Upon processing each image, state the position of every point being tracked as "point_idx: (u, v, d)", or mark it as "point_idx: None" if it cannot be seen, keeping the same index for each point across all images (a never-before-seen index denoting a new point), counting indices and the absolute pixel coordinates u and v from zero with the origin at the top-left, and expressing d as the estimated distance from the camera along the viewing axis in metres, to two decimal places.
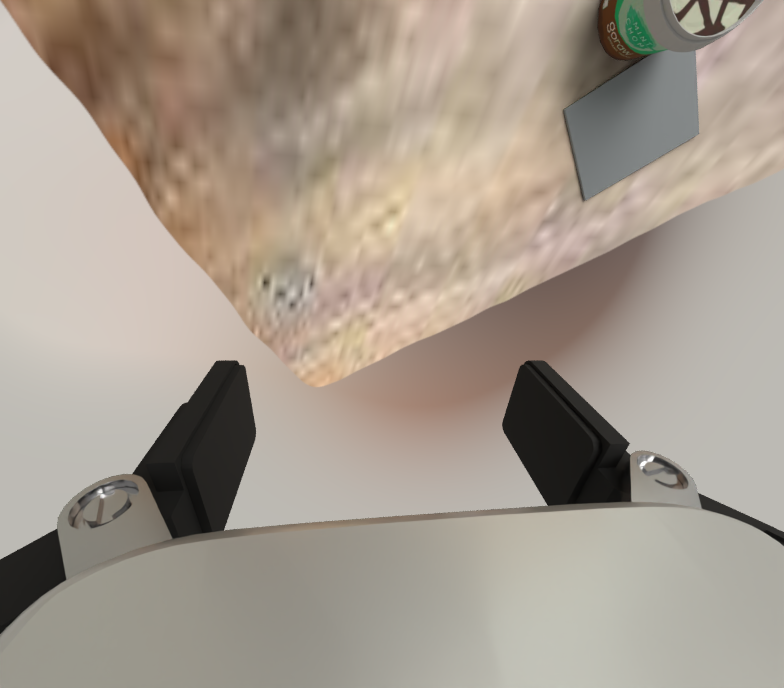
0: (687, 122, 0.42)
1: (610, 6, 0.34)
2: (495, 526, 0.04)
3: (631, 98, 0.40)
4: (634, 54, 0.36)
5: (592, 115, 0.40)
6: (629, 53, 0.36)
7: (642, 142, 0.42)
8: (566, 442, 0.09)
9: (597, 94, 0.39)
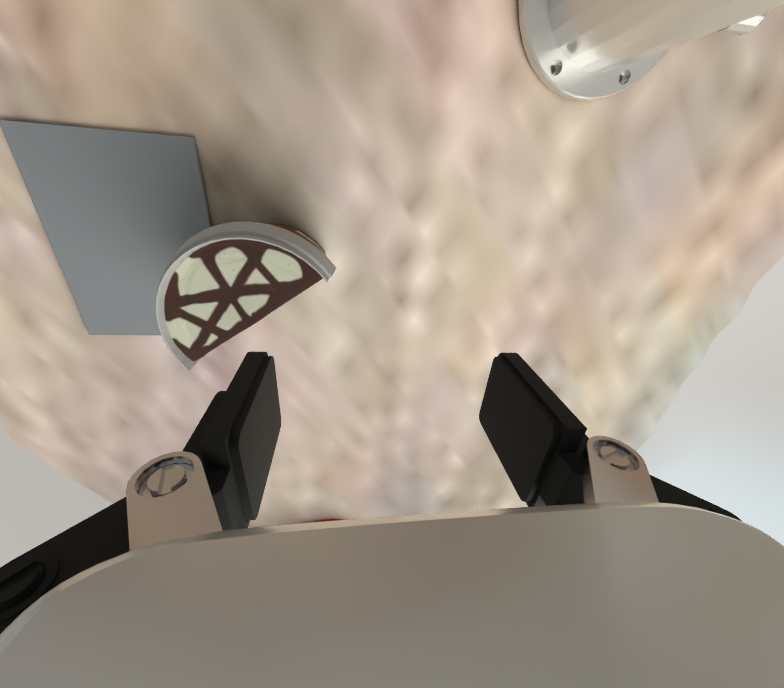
0: (111, 320, 0.28)
1: (291, 231, 0.25)
2: (495, 526, 0.04)
3: (172, 248, 0.26)
4: None
5: (166, 182, 0.24)
6: None
7: (97, 253, 0.26)
8: (531, 429, 0.09)
9: (196, 198, 0.25)
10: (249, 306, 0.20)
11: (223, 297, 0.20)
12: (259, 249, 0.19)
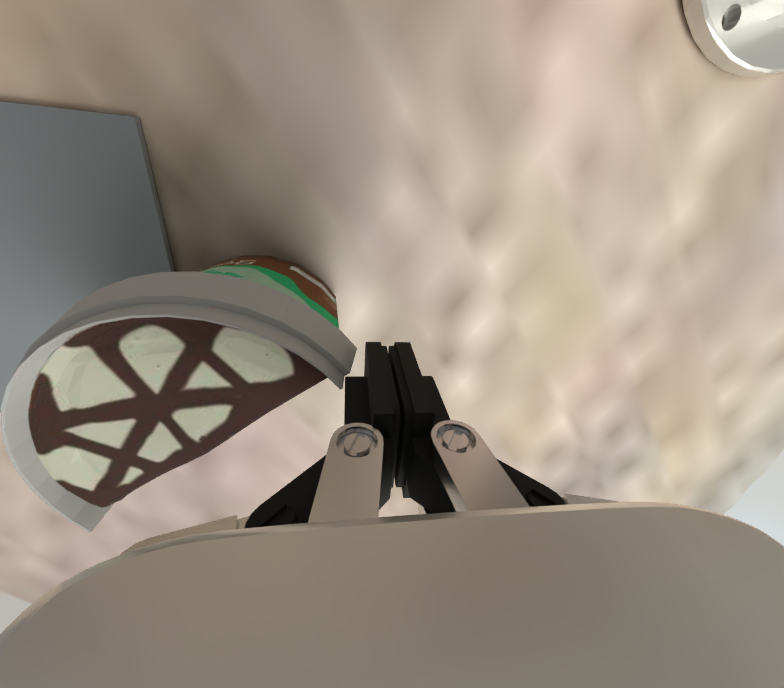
0: None
1: (283, 269, 0.16)
2: (495, 526, 0.04)
3: None
4: None
5: (94, 189, 0.15)
6: None
7: None
8: None
9: (144, 216, 0.15)
10: (195, 426, 0.11)
11: (144, 412, 0.10)
12: (207, 328, 0.09)
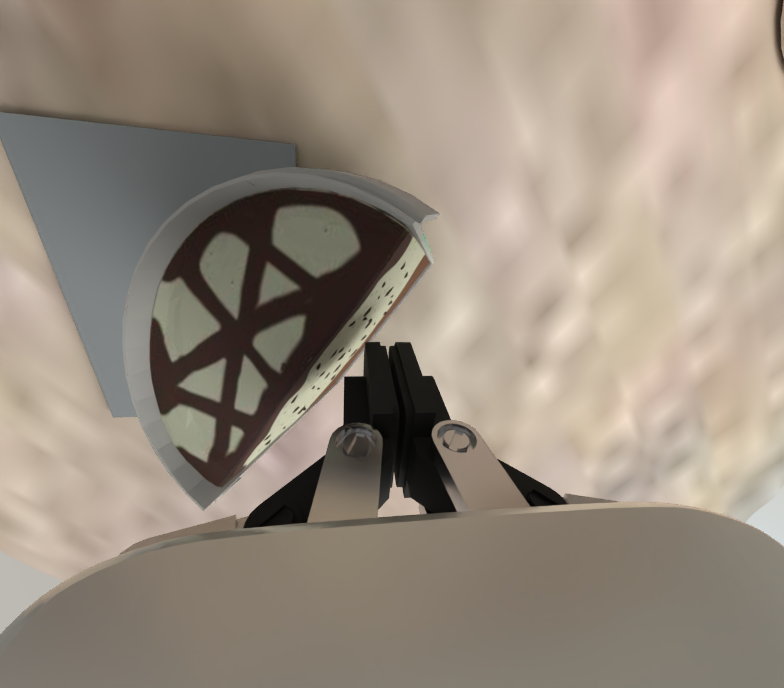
0: None
1: None
2: (495, 526, 0.04)
3: None
4: None
5: None
6: None
7: None
8: (400, 415, 0.09)
9: None
10: (274, 351, 0.09)
11: (231, 346, 0.10)
12: (263, 217, 0.09)
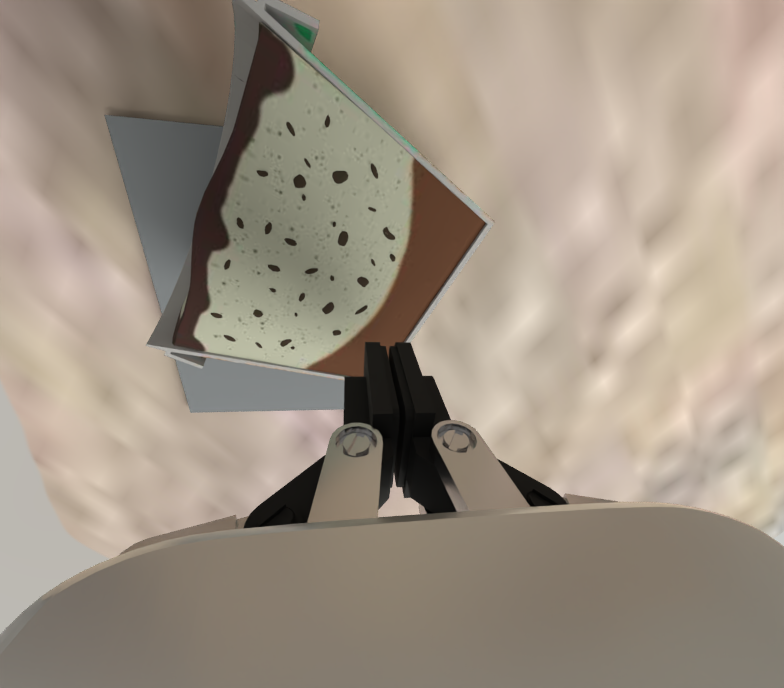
0: (223, 394, 0.20)
1: None
2: (495, 526, 0.04)
3: None
4: None
5: None
6: None
7: None
8: (399, 415, 0.09)
9: None
10: None
11: None
12: None
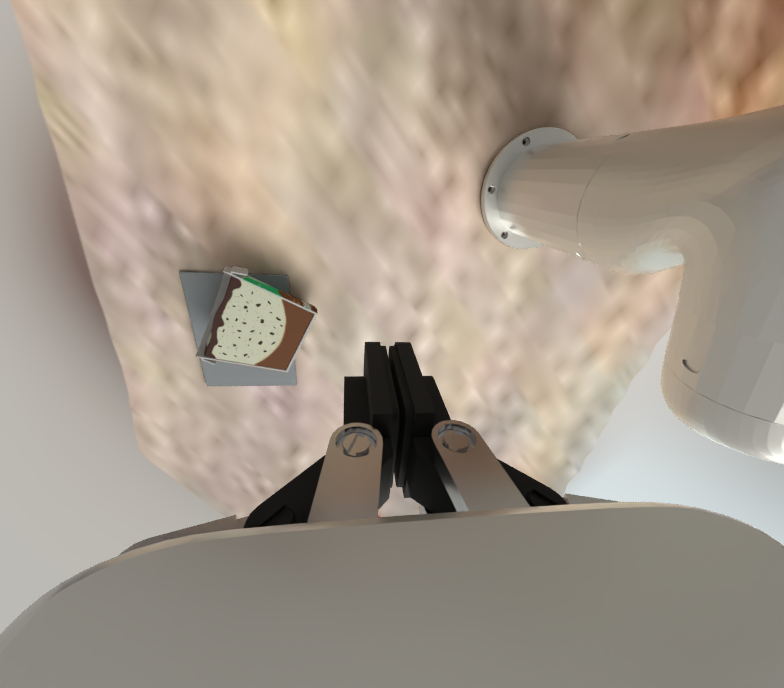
0: (222, 377, 0.44)
1: None
2: (495, 526, 0.04)
3: None
4: None
5: None
6: None
7: None
8: (399, 415, 0.09)
9: None
10: None
11: None
12: None
